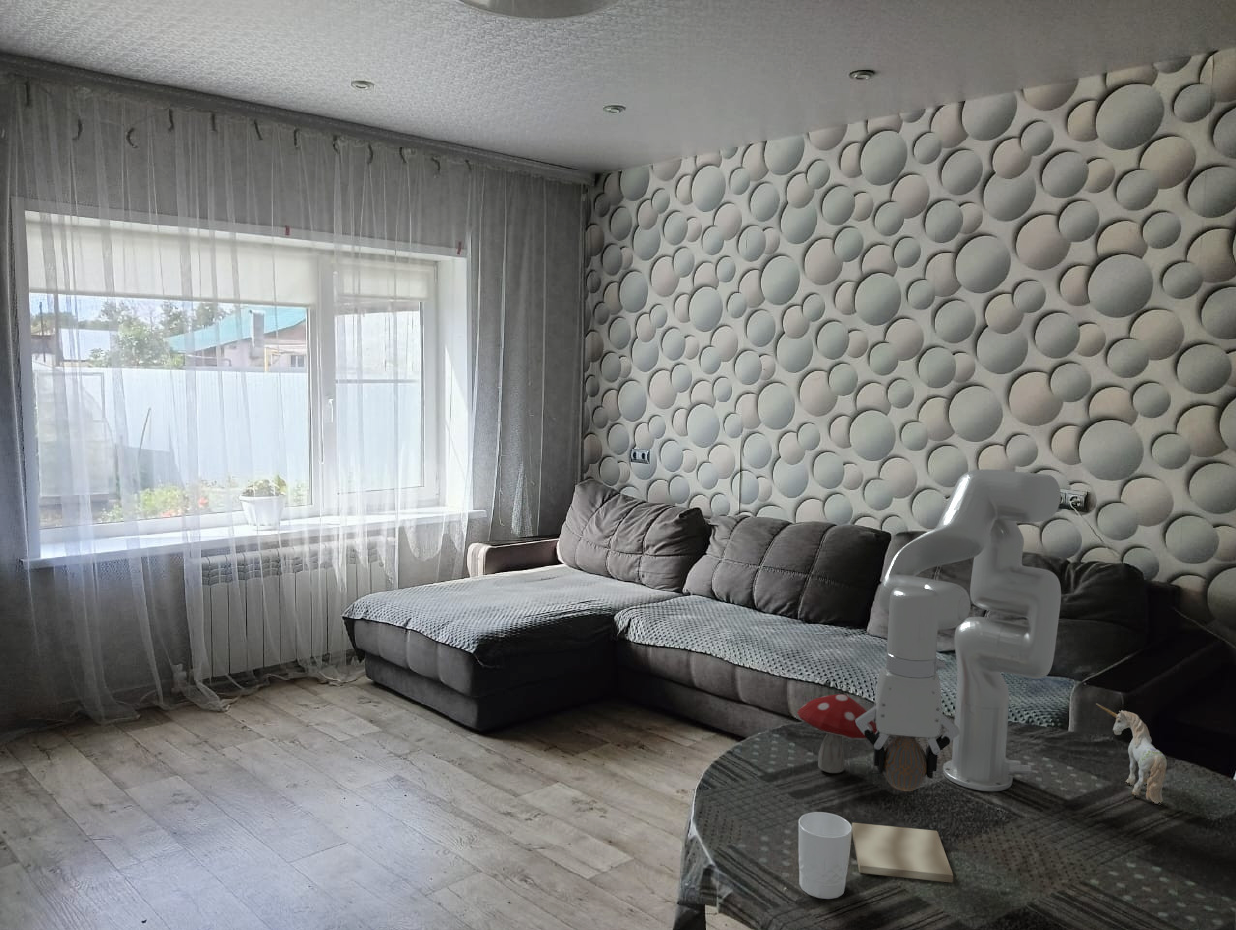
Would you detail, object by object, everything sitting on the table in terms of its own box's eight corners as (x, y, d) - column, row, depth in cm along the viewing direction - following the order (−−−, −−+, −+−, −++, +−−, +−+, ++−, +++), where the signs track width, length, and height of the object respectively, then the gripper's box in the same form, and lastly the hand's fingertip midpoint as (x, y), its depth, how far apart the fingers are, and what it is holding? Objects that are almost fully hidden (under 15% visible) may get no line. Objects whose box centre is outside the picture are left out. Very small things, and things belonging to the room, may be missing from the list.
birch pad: (936, 837, 157) (937, 830, 156) (952, 882, 143) (953, 875, 143) (851, 829, 159) (851, 822, 159) (859, 872, 145) (859, 865, 145)
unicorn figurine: (1124, 767, 187) (1130, 703, 185) (1189, 813, 168) (1196, 742, 166) (1090, 767, 186) (1095, 703, 185) (1151, 814, 167) (1158, 742, 166)
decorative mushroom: (798, 748, 192) (801, 678, 191) (877, 758, 188) (881, 687, 186) (791, 780, 177) (794, 704, 175) (877, 792, 173) (881, 715, 171)
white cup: (789, 873, 144) (792, 812, 143) (838, 872, 145) (842, 811, 144) (803, 902, 137) (807, 838, 136) (856, 901, 137) (859, 837, 136)
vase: (928, 797, 145) (931, 743, 145) (882, 792, 147) (885, 739, 146) (923, 779, 152) (926, 727, 151) (879, 774, 154) (882, 723, 153)
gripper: (962, 662, 150) (955, 768, 152) (852, 654, 153) (846, 758, 154) (972, 676, 142) (965, 788, 144) (856, 668, 145) (850, 777, 147)
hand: (904, 771), depth 149 cm, fingers closed on vase, 7 cm apart
